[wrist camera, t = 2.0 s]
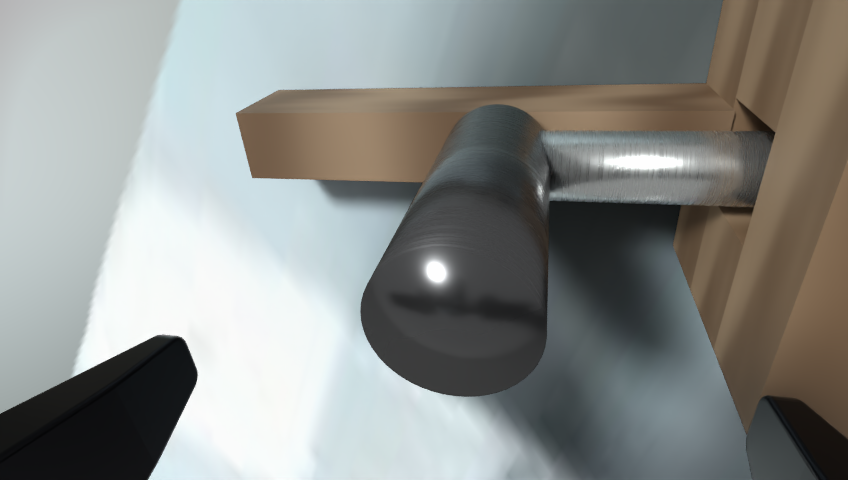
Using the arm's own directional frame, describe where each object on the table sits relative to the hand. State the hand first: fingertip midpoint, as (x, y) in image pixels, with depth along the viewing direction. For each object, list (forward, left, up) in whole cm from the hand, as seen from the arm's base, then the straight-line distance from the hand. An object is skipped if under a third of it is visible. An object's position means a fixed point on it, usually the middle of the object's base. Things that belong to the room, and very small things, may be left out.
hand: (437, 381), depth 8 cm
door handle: (-3, -4, -10) cm, 11 cm away
